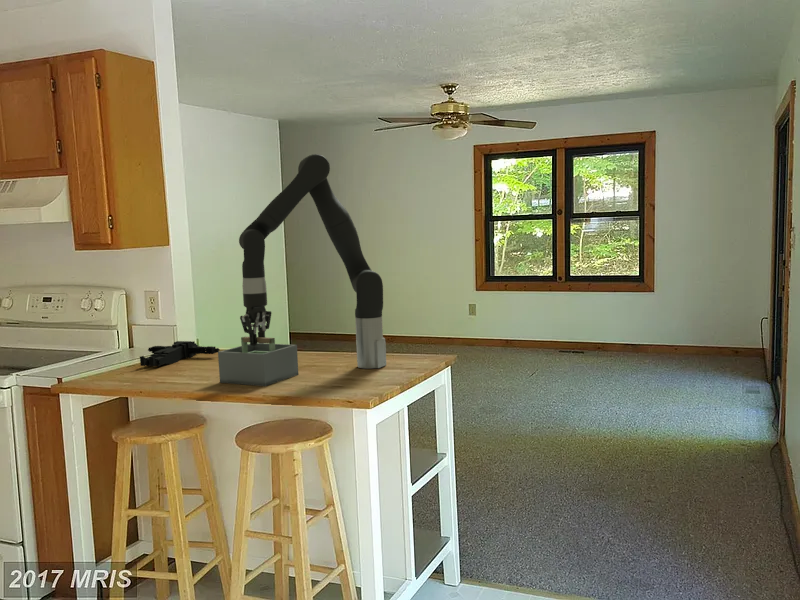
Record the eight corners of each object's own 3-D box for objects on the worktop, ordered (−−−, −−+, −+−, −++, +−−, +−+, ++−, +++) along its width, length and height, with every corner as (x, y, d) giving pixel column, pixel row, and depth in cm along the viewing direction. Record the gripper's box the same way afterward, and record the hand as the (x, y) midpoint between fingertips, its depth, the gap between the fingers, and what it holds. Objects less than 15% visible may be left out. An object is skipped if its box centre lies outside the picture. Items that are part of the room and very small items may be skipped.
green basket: (284, 373, 236) (282, 335, 235) (264, 380, 227) (262, 341, 225) (255, 371, 242) (253, 334, 240) (234, 377, 232) (232, 339, 231)
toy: (109, 354, 262) (158, 338, 290) (111, 371, 263) (159, 353, 291) (183, 355, 253) (226, 338, 282) (185, 373, 254) (227, 354, 283)
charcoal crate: (298, 374, 238) (296, 344, 237) (265, 386, 222) (263, 354, 221) (254, 371, 246) (253, 342, 245) (219, 382, 230) (217, 351, 229)
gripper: (250, 293, 223) (253, 348, 225) (277, 289, 236) (280, 341, 238) (231, 293, 227) (234, 347, 228) (258, 289, 239) (261, 340, 241)
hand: (257, 343), depth 233 cm, fingers open, 3 cm apart
